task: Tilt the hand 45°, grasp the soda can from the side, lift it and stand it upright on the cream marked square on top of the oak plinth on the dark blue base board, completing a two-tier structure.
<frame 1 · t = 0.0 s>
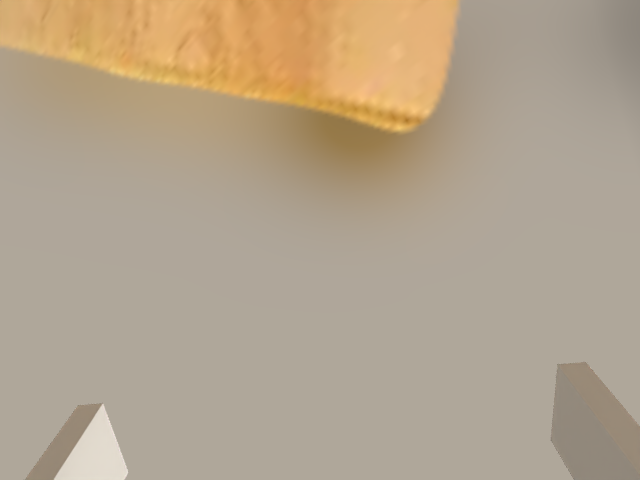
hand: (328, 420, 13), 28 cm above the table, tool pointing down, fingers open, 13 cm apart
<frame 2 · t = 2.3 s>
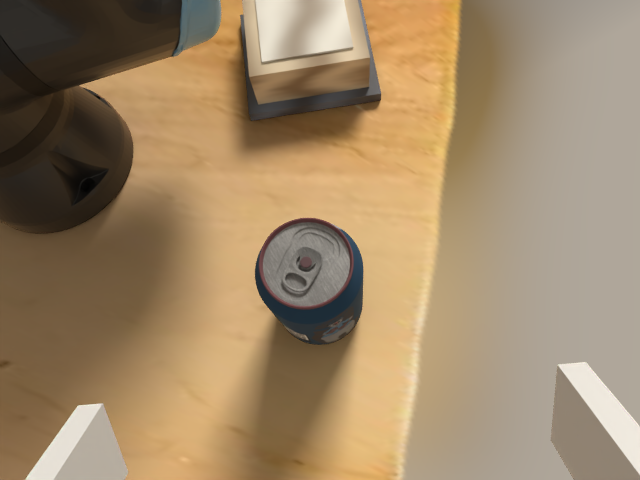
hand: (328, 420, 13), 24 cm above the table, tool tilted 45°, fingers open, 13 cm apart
blueprint board: (307, 59, 48), on the table
soda can: (321, 305, 39), on the table
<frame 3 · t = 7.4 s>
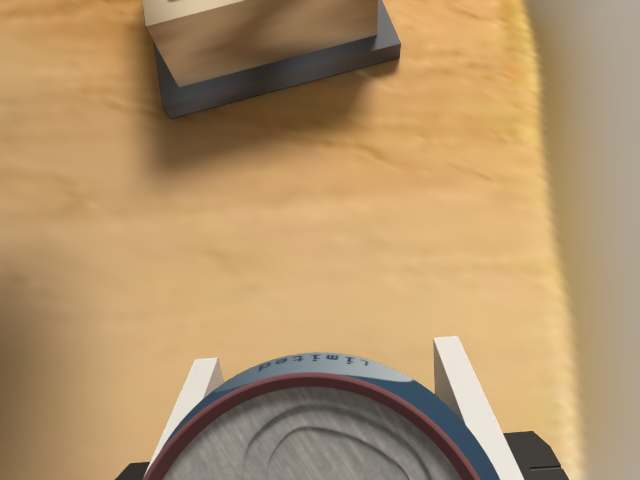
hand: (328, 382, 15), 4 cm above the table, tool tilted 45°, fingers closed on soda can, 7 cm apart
blueprint board: (262, 7, 28), on the table
when the fingers open (10 cm above the table, at t = 13.4 s): soda can stays where it is, resting on blueprint board.
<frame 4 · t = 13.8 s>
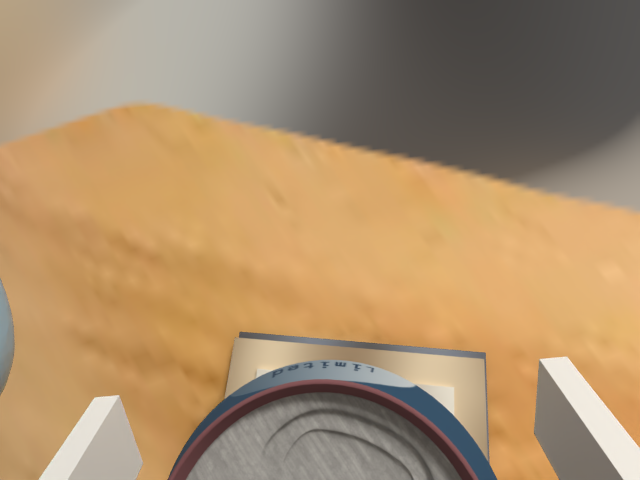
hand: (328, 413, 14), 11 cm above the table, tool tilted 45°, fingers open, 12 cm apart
blueprint board: (349, 477, 23), on the table
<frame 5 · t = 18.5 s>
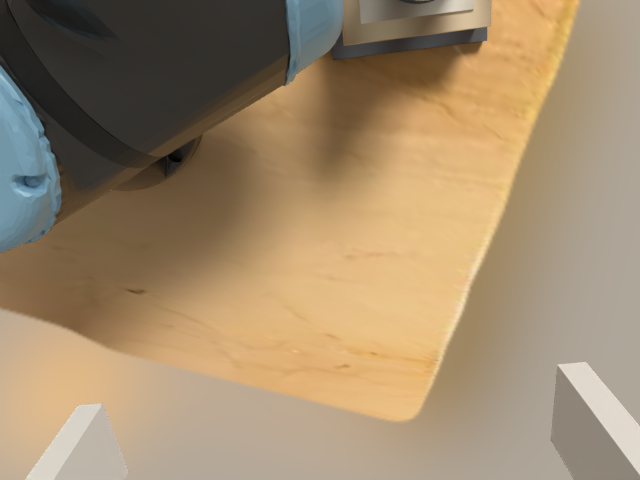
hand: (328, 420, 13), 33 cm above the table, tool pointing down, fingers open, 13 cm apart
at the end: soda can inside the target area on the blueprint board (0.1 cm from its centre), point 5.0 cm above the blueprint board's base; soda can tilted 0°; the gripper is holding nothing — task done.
